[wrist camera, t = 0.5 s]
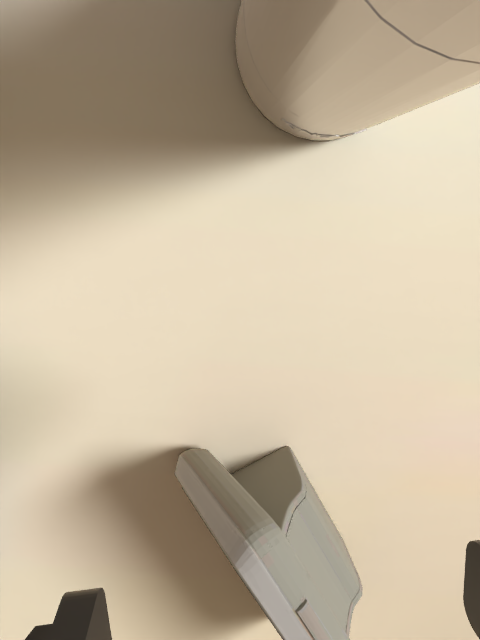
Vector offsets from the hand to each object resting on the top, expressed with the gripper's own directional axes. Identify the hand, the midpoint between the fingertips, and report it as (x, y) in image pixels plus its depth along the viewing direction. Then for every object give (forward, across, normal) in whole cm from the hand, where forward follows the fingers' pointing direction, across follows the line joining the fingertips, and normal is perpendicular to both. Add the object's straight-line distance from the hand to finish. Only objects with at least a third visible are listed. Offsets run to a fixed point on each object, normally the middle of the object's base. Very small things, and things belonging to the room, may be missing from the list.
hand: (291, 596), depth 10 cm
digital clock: (+19, -2, +12) cm, 22 cm away
